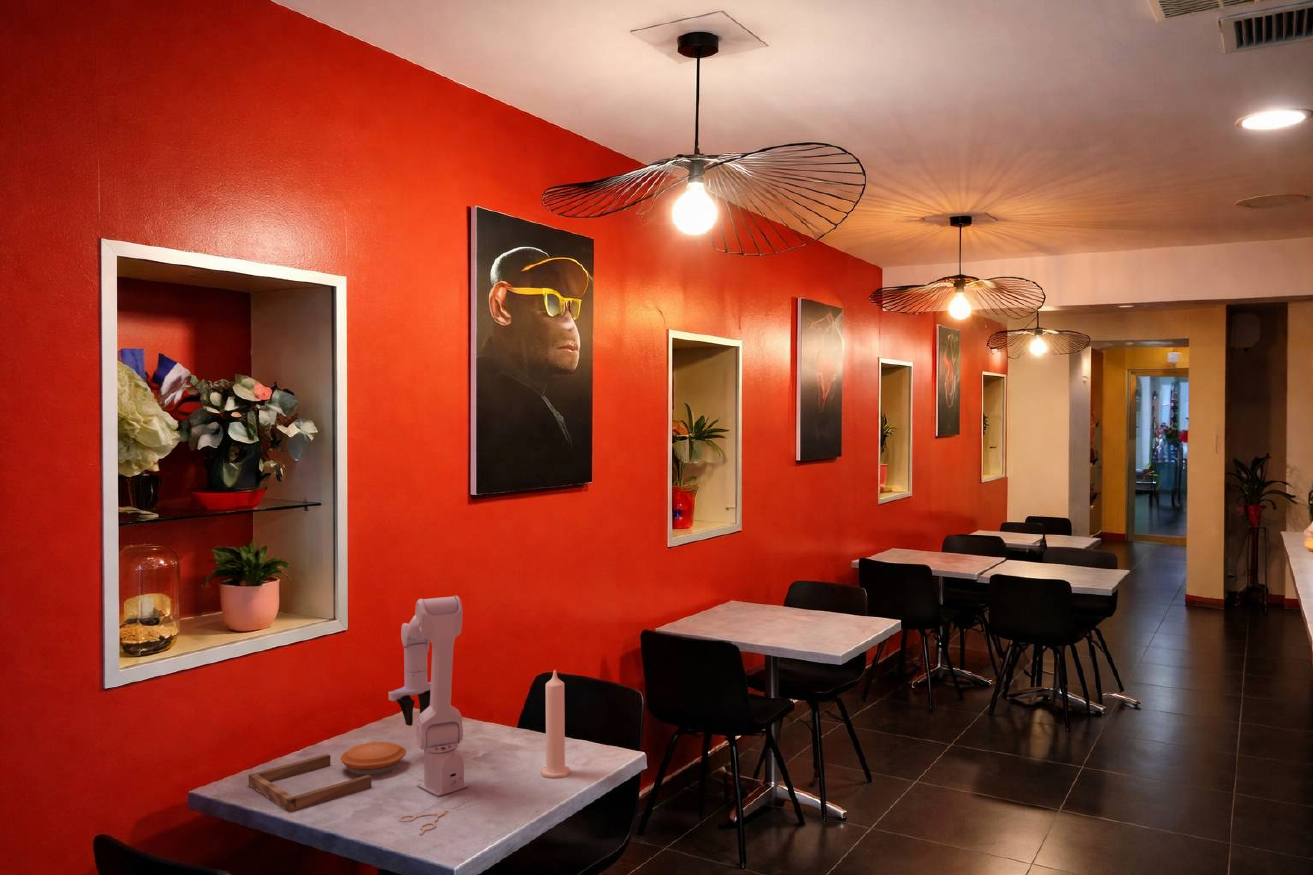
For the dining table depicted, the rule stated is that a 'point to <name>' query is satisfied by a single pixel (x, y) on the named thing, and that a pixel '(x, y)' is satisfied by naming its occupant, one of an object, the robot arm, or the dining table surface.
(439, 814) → the scissors
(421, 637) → the robot arm
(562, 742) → the candle
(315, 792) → the serving rack
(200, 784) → the dining table surface
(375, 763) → the pie
